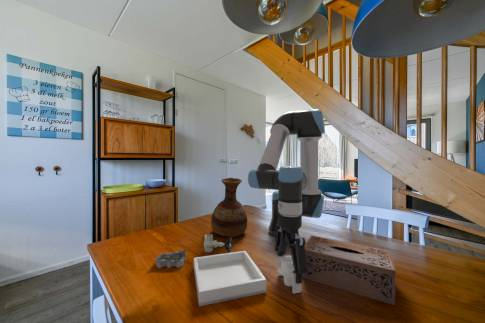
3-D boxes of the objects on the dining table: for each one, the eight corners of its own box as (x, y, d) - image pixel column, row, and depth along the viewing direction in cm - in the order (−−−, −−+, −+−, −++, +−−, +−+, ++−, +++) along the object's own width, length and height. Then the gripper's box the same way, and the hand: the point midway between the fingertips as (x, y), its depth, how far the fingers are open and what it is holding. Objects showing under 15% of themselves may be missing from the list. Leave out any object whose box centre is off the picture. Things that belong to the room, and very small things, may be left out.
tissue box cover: (301, 278, 70) (302, 249, 70) (311, 260, 83) (311, 235, 82) (394, 306, 57) (395, 270, 57) (389, 279, 69) (389, 250, 69)
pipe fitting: (301, 290, 63) (302, 264, 63) (278, 288, 64) (278, 263, 64) (298, 278, 69) (299, 255, 69) (277, 276, 70) (277, 253, 70)
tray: (245, 260, 81) (245, 250, 81) (266, 292, 62) (266, 279, 62) (193, 268, 75) (193, 257, 75) (199, 306, 56) (199, 292, 56)
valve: (201, 253, 87) (228, 256, 85) (201, 238, 87) (228, 240, 85) (206, 247, 93) (232, 249, 91) (206, 232, 93) (232, 234, 91)
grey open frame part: (187, 259, 83) (187, 249, 82) (182, 269, 75) (182, 258, 75) (161, 258, 82) (161, 248, 82) (153, 269, 75) (153, 257, 75)
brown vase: (212, 241, 99) (213, 180, 98) (209, 227, 118) (209, 176, 118) (251, 238, 103) (252, 179, 103) (242, 225, 123) (242, 175, 122)
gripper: (265, 206, 75) (264, 267, 76) (298, 225, 55) (297, 308, 55) (283, 205, 78) (282, 264, 78) (321, 223, 57) (320, 303, 57)
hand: (288, 282), depth 67 cm, fingers open, 9 cm apart
